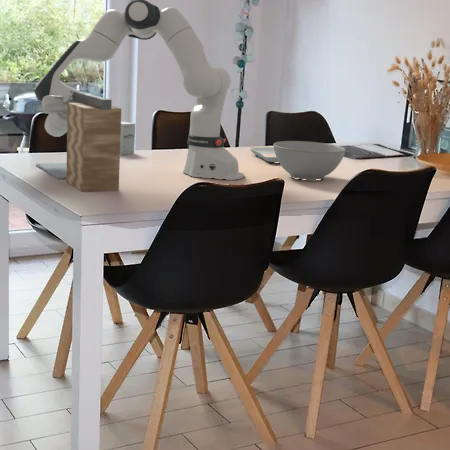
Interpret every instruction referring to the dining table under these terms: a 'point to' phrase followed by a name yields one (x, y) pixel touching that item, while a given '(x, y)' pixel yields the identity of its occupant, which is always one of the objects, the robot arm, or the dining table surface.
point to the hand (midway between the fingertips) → (78, 94)
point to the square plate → (264, 150)
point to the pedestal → (93, 147)
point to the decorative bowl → (308, 158)
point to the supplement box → (127, 138)
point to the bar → (91, 100)
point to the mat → (54, 169)
